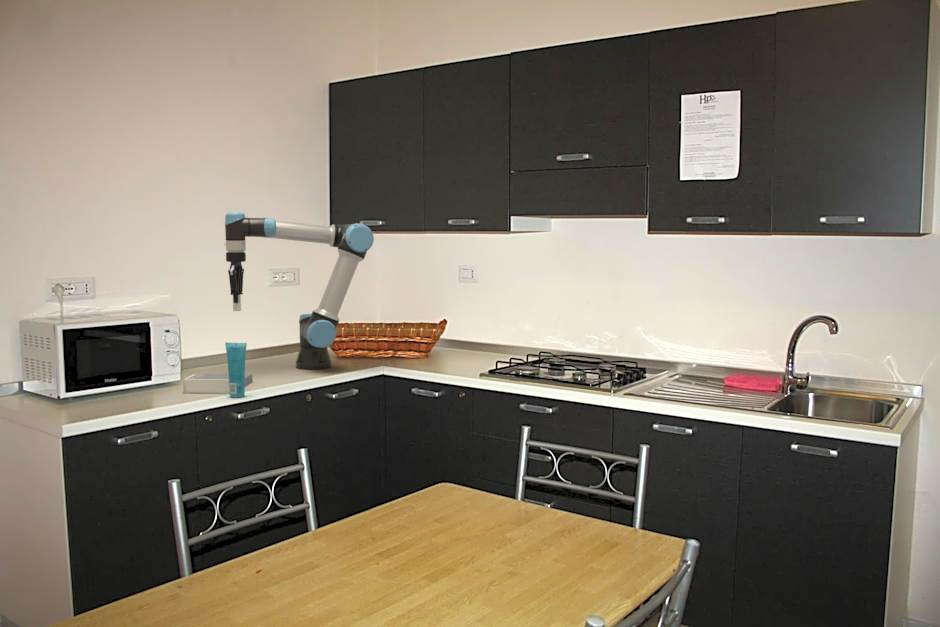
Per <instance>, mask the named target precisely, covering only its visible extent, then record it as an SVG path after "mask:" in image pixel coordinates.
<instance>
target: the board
mask: <svg viewBox="0 0 940 627" xmlns="http://www.w3.org/2000/svg"><path fill="white" fill-rule="evenodd" d="M196 379H229V373H204V374H203V375H201V376H198V377H196ZM251 383H253V373H245V387H246V386H248V385H249V384H251Z"/></svg>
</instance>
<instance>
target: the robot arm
mask: <svg viewBox="0 0 940 627" xmlns="http://www.w3.org/2000/svg"><path fill="white" fill-rule="evenodd" d="M224 218H225V221H224V225H225V227H224V230H225V233H224V234H225V243H224V246H225V251H226V252H225V262H228V263H230V266H229V269H228V270H227V272H228V277H229V289H230V296H231V295H232V312H242V296H241V295H243V294H244V292H243V289H244V288H243V287H244V286H243V285H244V272H245V269H244V268H243V265H242V263H244V262H246V261H247V255H246V254H247V253H246V252H245V251H246V249H247V248H246V237H250V238H252V237H256V238H266V239H267V238H269V239H276V240H288V241H294V242H295V241H297V242H308V243H316V244H323V245H328V246H330V247H331V248H337V252H338V257H337V259H336V262H335V265H334V267H333V269H332V272H331V275H330V277H329V280H328V283H327V285H326V287H325V289H324V293H323V295H322V297H321V300H320V302H319V304H318V307H317V308H316V309H313V310H312V312H311V313H303V314H300V315H299V319H298V320H299V321H298V323H299V350H298V351H299V352H298V354H297V357H296V361H295V368H296V369H302V370H323V369H329V368H332V366H333V365H332V363H333V362H332V359H331V355H330V353H329V350H328V347H329V346H330V345H332V344H333V343H334V342H335V340H336V337H337V329H338V325H339V322H340V318H339V314H340V310H341V308H342V305H343V302H344V301H345V297H346V295H347V292H348V291H349V287H350V286H351V282H352V280H353V277H354V275H355V273H356V270H357V267H358V265H359V263H360V262H363V261H364V260H365V258H366V255H367V252H368V251H369V250H370V249H371V248H372V246H373V243H374V241H375V239H374V233H373V231H372V229H371V228H370V227H368V226H367V225H365V224H364V223H363V224H362V223H359V222H358V223H348V224H331V225H320V224H311V223H310V224H309V223H302V222H294V221H293V222H292V221H285V220H276V219H275V218H272V217H246V215H245V212H226V214H225V217H224Z"/></svg>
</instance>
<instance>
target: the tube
mask: <svg viewBox="0 0 940 627" xmlns="http://www.w3.org/2000/svg"><path fill="white" fill-rule="evenodd" d="M247 345H248V343H247V342H225V351H226V359H227V370H228V371H227V374H229V387H230V394H229V396H230V398H243V397H245V393H246V392H245V390H246V389H245V387H246V386H245V374H246V372H245V371H246V355H247V354H246V353H247V352H246V351H247Z"/></svg>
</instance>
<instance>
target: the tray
mask: <svg viewBox="0 0 940 627" xmlns="http://www.w3.org/2000/svg"><path fill="white" fill-rule="evenodd" d="M196 378H197V373H196V374H195V373H194V374H192V375H189V376H187V377H185V378H182V386H183V388H182V389H183V394H217V393H221V394H223V395H224V394H226V395H228V394H229V395H230V387H229V379H196ZM221 394H220V395H221Z"/></svg>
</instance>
